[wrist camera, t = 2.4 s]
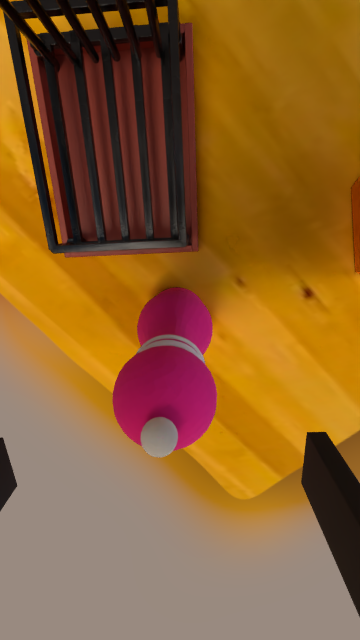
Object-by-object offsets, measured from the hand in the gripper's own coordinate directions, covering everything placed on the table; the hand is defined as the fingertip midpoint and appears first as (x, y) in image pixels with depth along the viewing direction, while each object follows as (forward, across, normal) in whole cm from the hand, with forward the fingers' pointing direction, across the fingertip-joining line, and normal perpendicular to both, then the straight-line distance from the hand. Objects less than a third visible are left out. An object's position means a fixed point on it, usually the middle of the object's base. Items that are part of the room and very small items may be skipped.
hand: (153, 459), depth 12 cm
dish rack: (+20, -4, +16) cm, 26 cm away
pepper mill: (+20, 0, 0) cm, 21 cm away
